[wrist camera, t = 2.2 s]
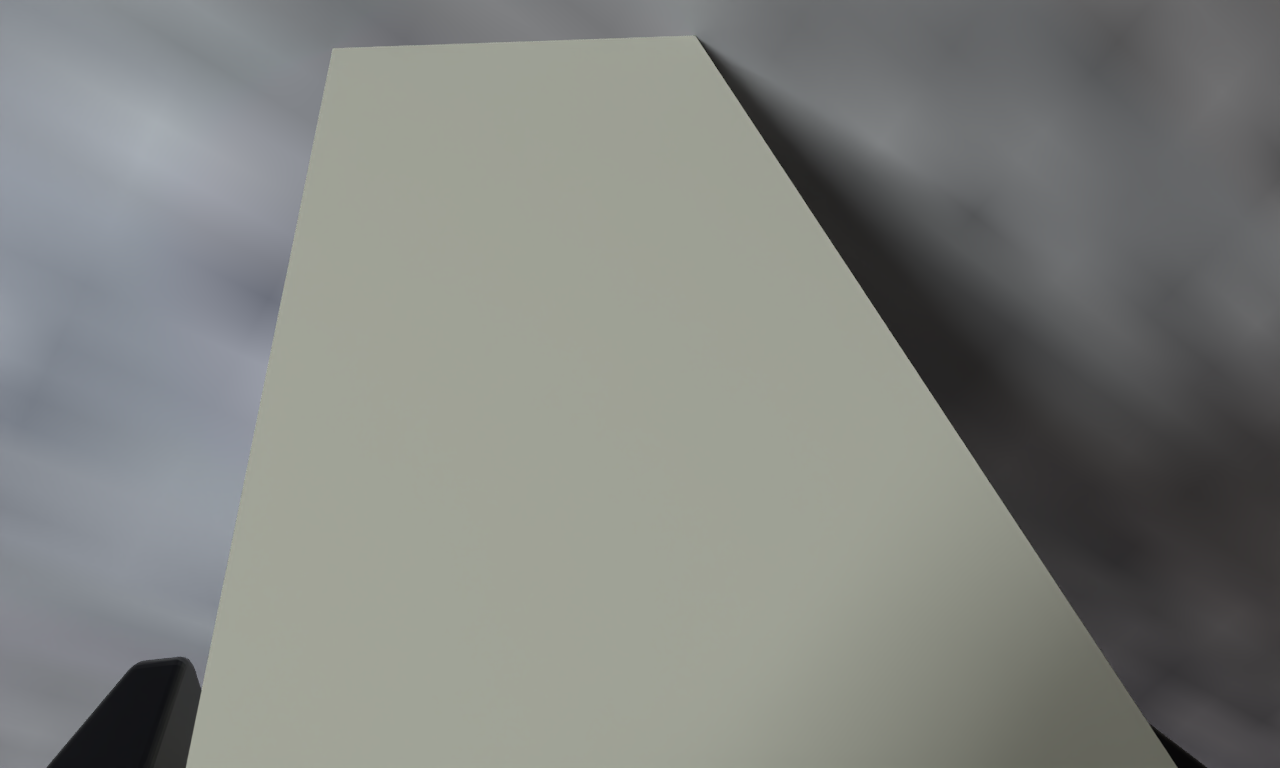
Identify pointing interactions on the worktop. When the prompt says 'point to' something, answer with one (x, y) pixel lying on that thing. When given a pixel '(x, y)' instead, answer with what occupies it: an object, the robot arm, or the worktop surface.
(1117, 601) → the worktop surface
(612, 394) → the door panel
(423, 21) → the worktop surface
